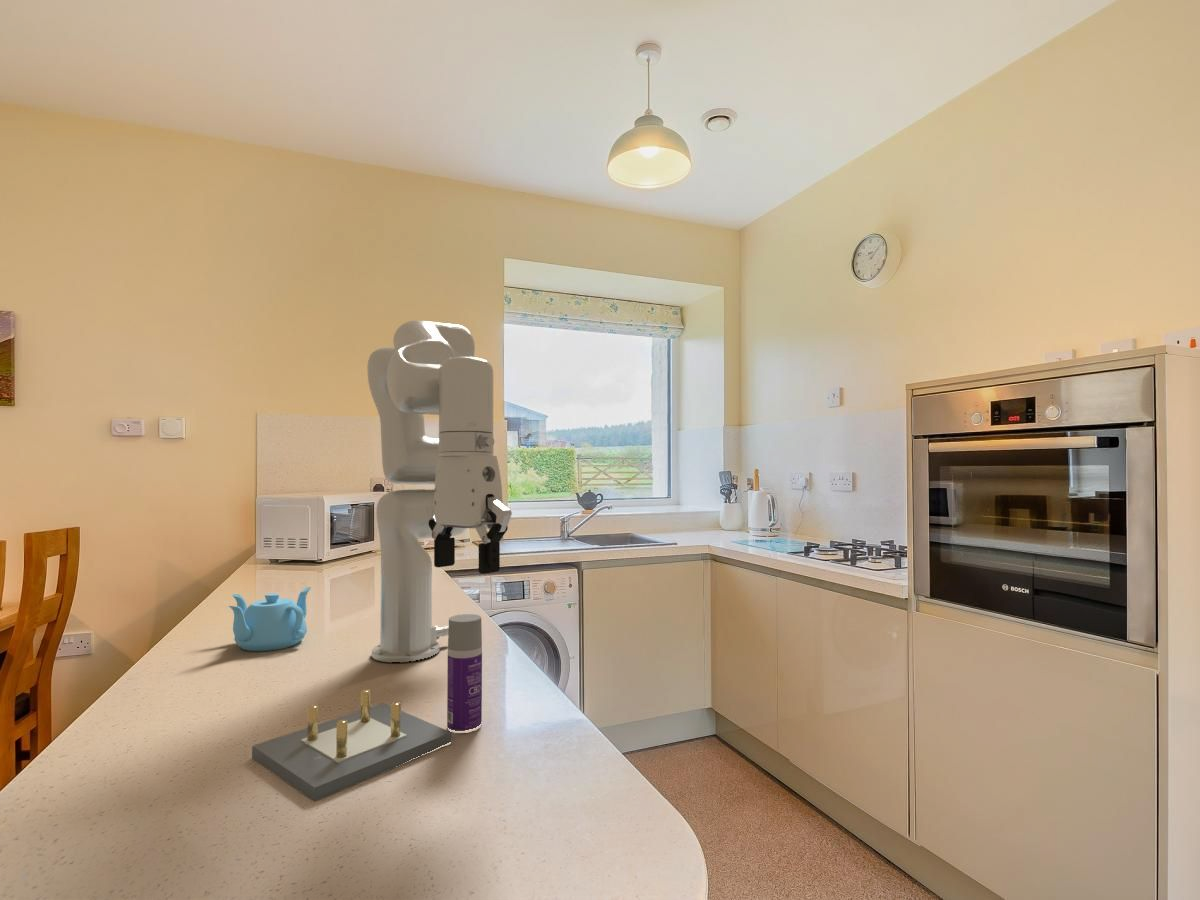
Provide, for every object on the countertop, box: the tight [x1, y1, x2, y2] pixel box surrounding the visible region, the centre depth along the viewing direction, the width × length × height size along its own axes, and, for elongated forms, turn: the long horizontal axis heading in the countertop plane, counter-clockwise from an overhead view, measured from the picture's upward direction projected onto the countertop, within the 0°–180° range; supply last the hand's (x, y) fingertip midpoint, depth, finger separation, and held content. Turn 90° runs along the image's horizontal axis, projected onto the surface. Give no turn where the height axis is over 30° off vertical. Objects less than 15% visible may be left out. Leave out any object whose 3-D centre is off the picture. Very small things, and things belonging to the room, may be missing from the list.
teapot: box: [228, 586, 312, 652], centre depth 126 cm, size 15×15×10 cm
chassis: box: [251, 702, 453, 803], centre depth 79 cm, size 18×16×2 cm
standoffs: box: [306, 689, 402, 758], centre depth 79 cm, size 8×8×4 cm
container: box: [446, 613, 483, 731], centre depth 86 cm, size 5×5×15 cm
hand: (466, 569), depth 86 cm, fingers open, 9 cm apart
